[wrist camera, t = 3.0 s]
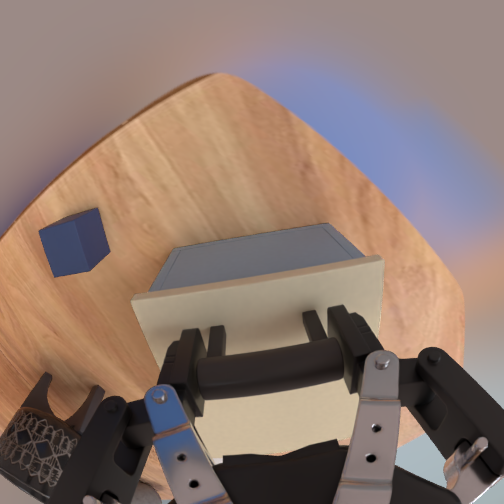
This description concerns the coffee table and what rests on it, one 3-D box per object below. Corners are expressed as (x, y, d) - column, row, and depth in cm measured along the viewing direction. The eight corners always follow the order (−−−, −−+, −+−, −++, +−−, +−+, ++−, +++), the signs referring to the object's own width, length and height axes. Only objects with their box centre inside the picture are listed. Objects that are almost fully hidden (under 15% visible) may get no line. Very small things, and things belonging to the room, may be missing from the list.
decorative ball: (127, 471, 38) (119, 509, 29) (171, 487, 40) (167, 524, 31) (116, 479, 41) (108, 511, 31) (154, 493, 43) (150, 525, 34)
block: (63, 217, 20) (38, 230, 17) (97, 207, 20) (73, 219, 17) (76, 259, 22) (54, 277, 18) (110, 252, 22) (90, 271, 18)
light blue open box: (173, 248, 22) (139, 305, 14) (328, 222, 22) (377, 267, 13) (215, 383, 27) (211, 451, 19) (332, 364, 27) (356, 428, 19)
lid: (134, 293, 13) (96, 356, 9) (378, 253, 13) (433, 302, 8) (211, 451, 19) (209, 499, 15) (356, 428, 19) (372, 473, 14)
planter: (70, 349, 26) (4, 467, 9) (139, 416, 30) (112, 529, 13) (28, 370, 27) (-23, 455, 11) (86, 425, 32) (56, 511, 15)
